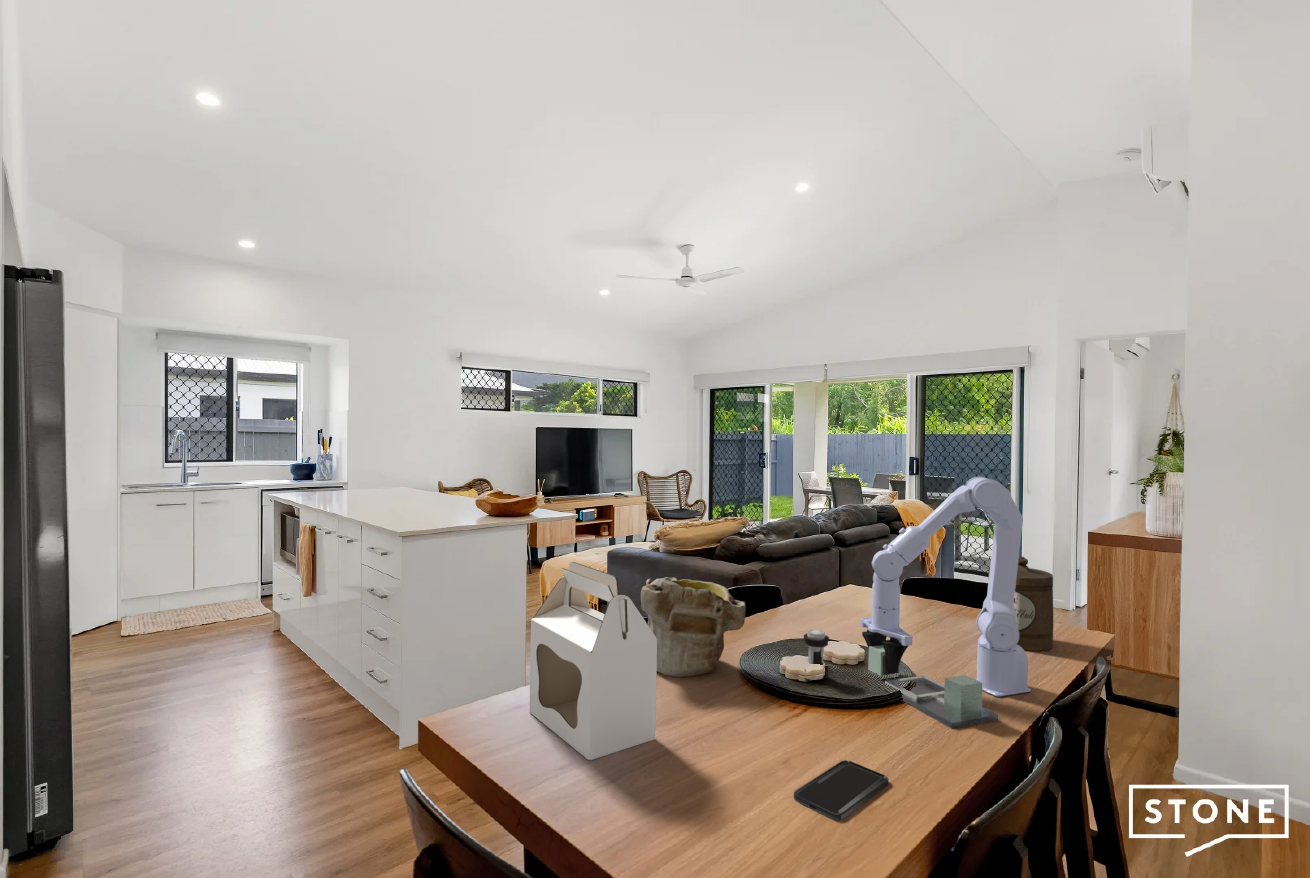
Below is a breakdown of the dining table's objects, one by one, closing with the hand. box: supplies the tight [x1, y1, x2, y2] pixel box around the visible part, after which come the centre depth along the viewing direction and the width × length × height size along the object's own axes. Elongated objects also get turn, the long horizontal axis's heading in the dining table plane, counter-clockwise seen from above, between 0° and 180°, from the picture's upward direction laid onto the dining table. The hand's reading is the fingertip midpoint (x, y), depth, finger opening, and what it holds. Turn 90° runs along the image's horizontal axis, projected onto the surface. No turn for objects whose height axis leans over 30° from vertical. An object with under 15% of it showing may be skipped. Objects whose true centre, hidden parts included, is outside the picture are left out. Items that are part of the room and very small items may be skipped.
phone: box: [793, 759, 889, 821], centre depth 97 cm, size 8×1×15 cm
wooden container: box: [987, 555, 1054, 652], centre depth 169 cm, size 15×15×22 cm
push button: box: [803, 629, 830, 677], centre depth 140 cm, size 7×5×10 cm
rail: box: [884, 674, 999, 729], centre depth 129 cm, size 20×11×7 cm, turn 20°
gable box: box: [529, 561, 658, 761], centre depth 116 cm, size 22×13×28 cm, turn 36°
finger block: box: [867, 645, 901, 676], centre depth 143 cm, size 4×5×6 cm
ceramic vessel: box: [640, 576, 747, 678], centre depth 146 cm, size 23×24×25 cm
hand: (884, 668), depth 143 cm, fingers closed on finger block, 4 cm apart
